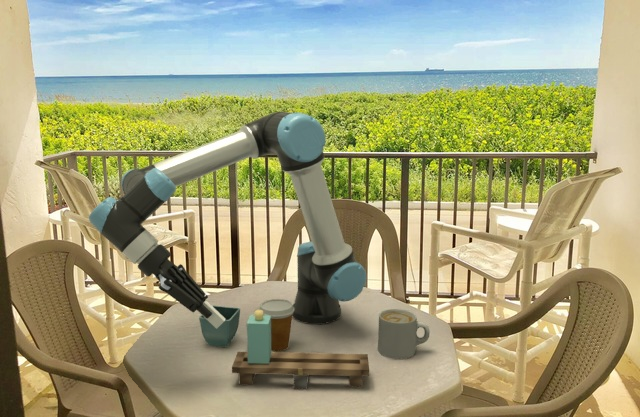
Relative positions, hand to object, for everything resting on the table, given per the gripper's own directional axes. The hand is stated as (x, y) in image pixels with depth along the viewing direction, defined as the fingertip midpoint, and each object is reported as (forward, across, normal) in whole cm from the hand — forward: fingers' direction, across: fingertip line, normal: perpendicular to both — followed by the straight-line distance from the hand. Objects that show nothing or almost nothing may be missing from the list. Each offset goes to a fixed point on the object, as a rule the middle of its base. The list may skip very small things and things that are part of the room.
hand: (221, 323), depth 135 cm
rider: (+14, 0, -1) cm, 14 cm away
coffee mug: (+42, -17, +22) cm, 50 cm away
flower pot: (+7, -20, -13) cm, 25 cm away
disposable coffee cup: (+18, -18, -2) cm, 26 cm away
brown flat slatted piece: (+23, 0, +4) cm, 24 cm away
